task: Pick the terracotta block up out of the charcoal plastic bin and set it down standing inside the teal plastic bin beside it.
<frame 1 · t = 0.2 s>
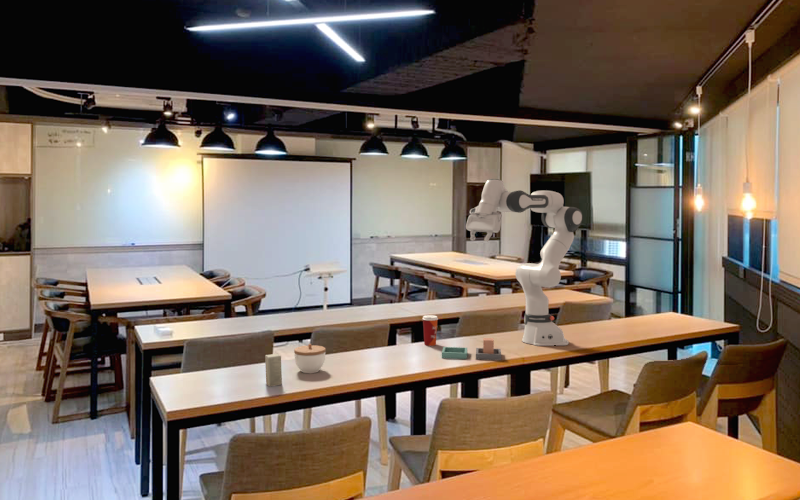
hand: (479, 240, 265), 52 cm above the table, tool tilted 20°, fingers open, 8 cm apart
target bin: (454, 355, 261), on the table
lidded bowl: (310, 371, 235), on the table
paper cup: (430, 345, 282), on the table
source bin: (488, 356, 259), on the table
block: (488, 348, 258), in the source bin
box: (273, 384, 217), on the table
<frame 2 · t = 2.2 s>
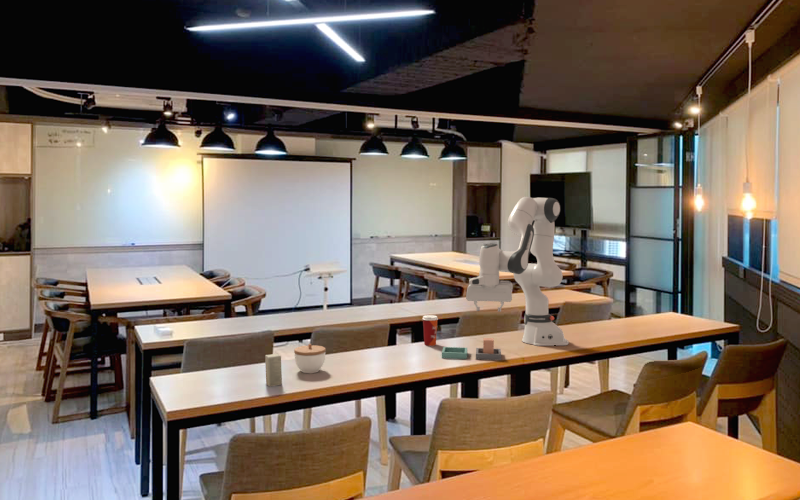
hand: (488, 311, 257), 21 cm above the table, tool pointing down, fingers open, 8 cm apart
nothing on the table moved.
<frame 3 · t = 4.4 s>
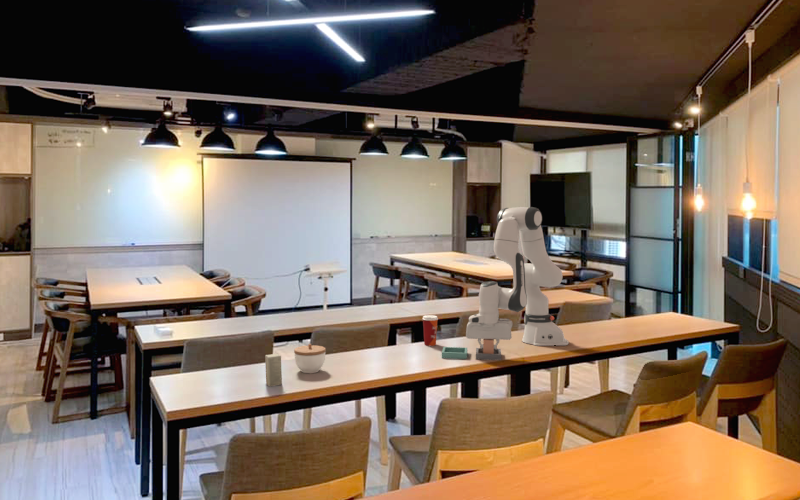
hand: (488, 348, 258), 4 cm above the table, tool pointing down, fingers closed on block, 4 cm apart
block: (488, 347, 258), in the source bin, touching gripper
everything else where it was.
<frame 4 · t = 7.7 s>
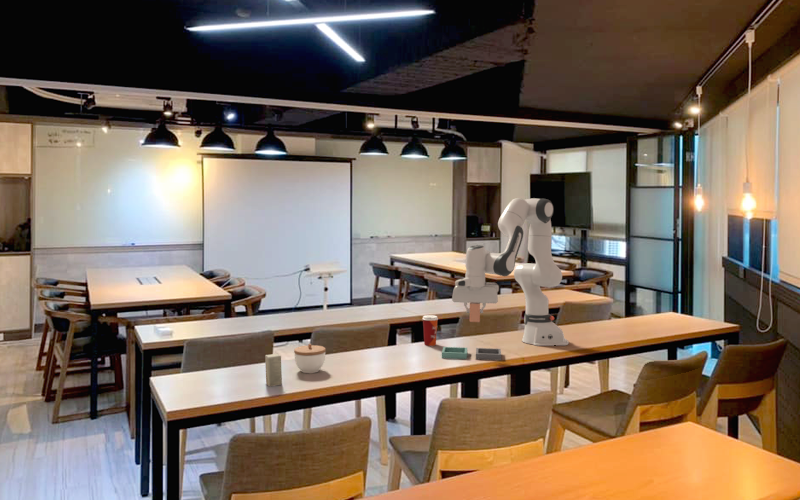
hand: (474, 312, 258), 20 cm above the table, tool pointing down, fingers closed on block, 4 cm apart
block: (474, 312, 258), point 20 cm above the table, touching gripper
everything else where it was.
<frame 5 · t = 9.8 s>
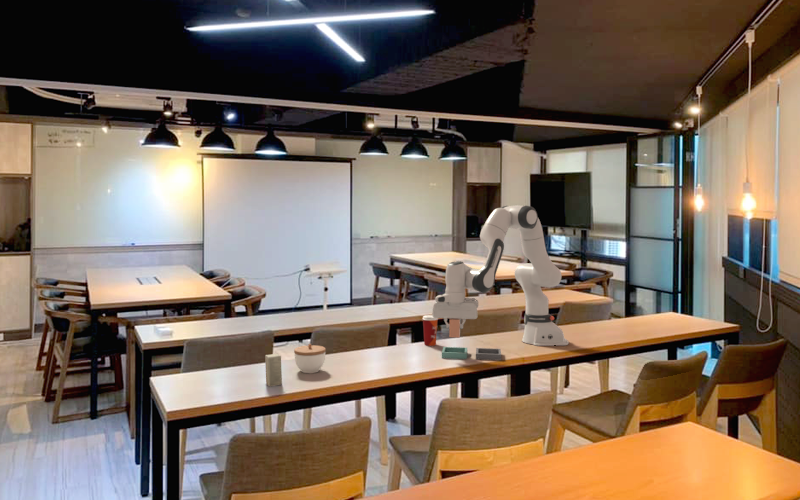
hand: (454, 328, 260), 12 cm above the table, tool pointing down, fingers closed on block, 4 cm apart
block: (454, 327, 260), point 13 cm above the table, touching gripper
everything else where it was.
when the fingers open (5 cm above the table, at t = 11.5 s): block drops 1 cm, resting in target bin.
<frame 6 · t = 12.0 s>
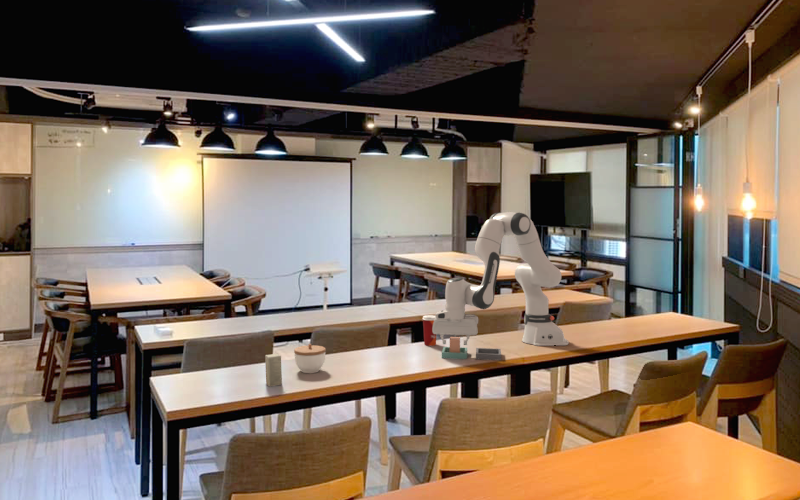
hand: (454, 344, 260), 5 cm above the table, tool pointing down, fingers open, 8 cm apart
block: (454, 346, 260), in the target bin
everything else where it was.
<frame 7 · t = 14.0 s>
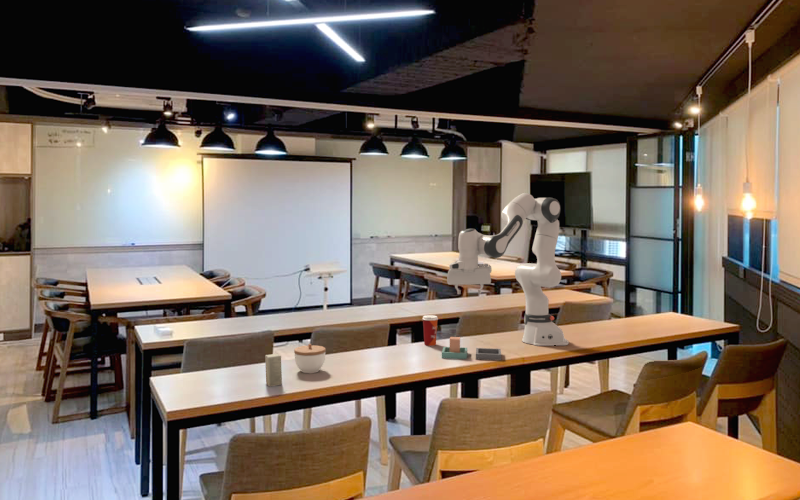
hand: (469, 293, 267), 27 cm above the table, tool pointing down, fingers open, 8 cm apart
nothing on the table moved.
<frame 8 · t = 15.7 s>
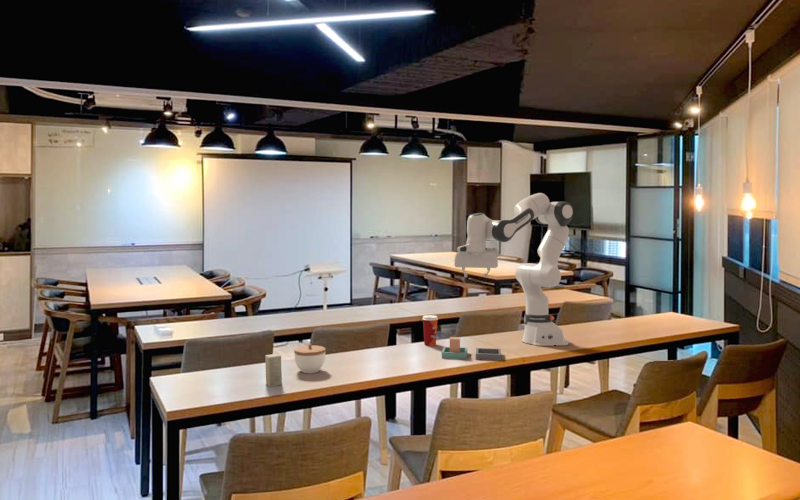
hand: (475, 277, 271), 34 cm above the table, tool pointing down, fingers open, 8 cm apart
nothing on the table moved.
at the end: block 0.1 cm off-centre on the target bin, point 3.9 cm above the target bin's base; block tilted 0°; the gripper is holding nothing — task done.
